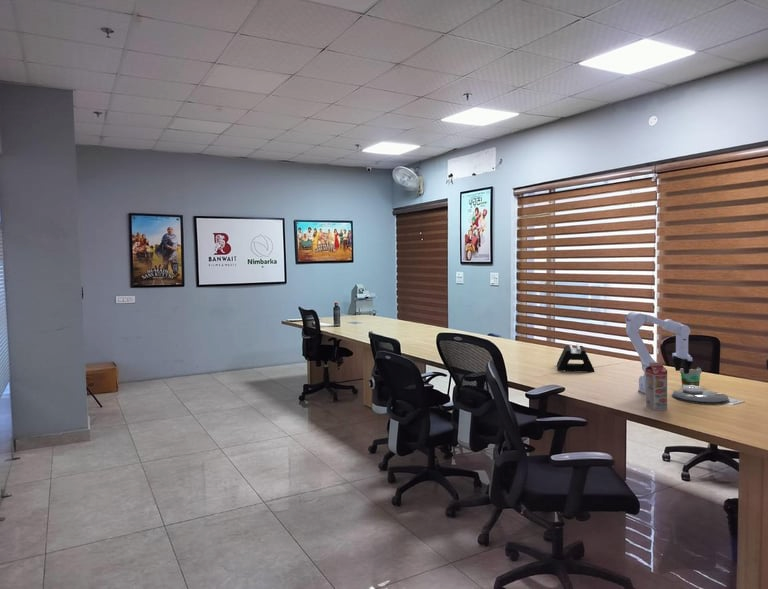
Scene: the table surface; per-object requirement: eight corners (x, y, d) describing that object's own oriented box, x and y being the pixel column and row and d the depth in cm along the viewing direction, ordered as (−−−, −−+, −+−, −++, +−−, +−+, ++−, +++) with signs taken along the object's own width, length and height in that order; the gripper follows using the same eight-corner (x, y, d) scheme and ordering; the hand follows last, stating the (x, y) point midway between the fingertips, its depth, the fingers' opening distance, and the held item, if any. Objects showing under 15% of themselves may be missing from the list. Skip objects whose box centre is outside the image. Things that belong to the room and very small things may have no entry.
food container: (689, 389, 287) (689, 370, 286) (679, 386, 293) (679, 368, 292) (707, 387, 290) (707, 369, 290) (697, 384, 296) (697, 367, 296)
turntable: (691, 403, 255) (691, 400, 255) (663, 392, 279) (663, 389, 279) (739, 401, 256) (739, 399, 255) (707, 390, 279) (707, 388, 279)
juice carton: (645, 406, 254) (645, 361, 253) (658, 406, 255) (658, 361, 253) (653, 410, 247) (653, 364, 246) (667, 409, 248) (667, 363, 247)
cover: (689, 394, 268) (689, 389, 268) (678, 390, 277) (678, 385, 277) (706, 393, 269) (706, 388, 269) (695, 389, 278) (695, 384, 278)
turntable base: (691, 405, 254) (691, 404, 254) (661, 393, 279) (661, 392, 279) (741, 403, 255) (741, 402, 255) (707, 391, 280) (707, 390, 280)
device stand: (557, 371, 345) (557, 348, 344) (557, 365, 367) (556, 343, 366) (594, 372, 339) (594, 349, 338) (591, 365, 360) (591, 344, 359)
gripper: (697, 348, 274) (697, 374, 274) (681, 344, 288) (681, 369, 289) (684, 349, 274) (684, 375, 274) (668, 345, 288) (668, 369, 289)
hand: (682, 372), depth 282 cm, fingers open, 7 cm apart
